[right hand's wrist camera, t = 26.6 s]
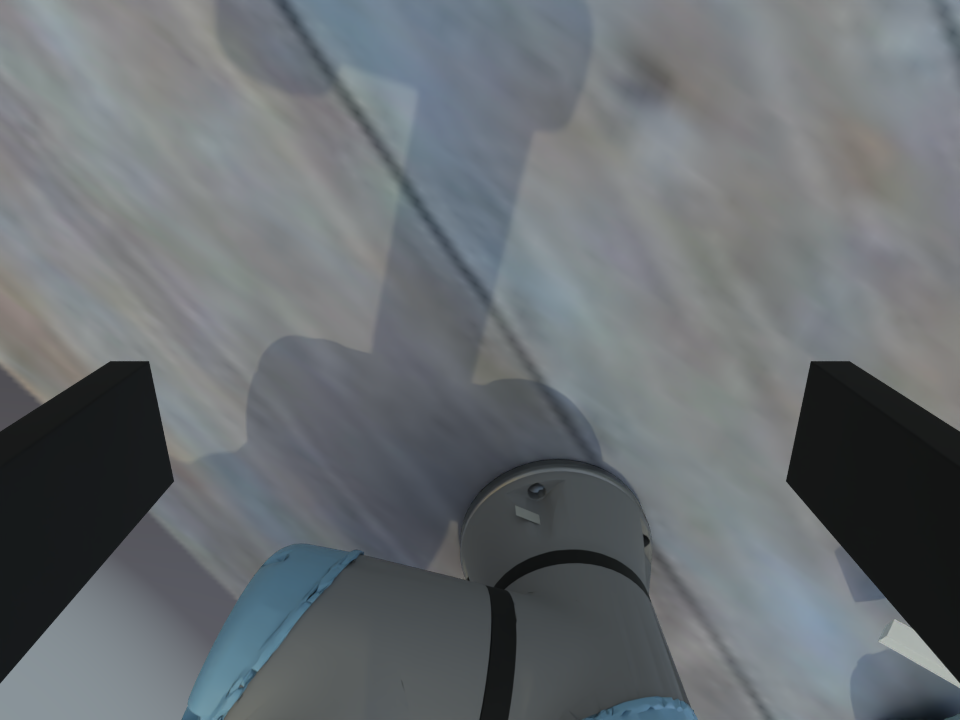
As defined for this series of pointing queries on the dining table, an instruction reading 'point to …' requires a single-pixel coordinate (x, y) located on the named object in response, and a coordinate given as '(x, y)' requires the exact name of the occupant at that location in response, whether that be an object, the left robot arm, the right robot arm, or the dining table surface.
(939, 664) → the white plastic object
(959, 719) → the lunch box
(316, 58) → the dining table surface
